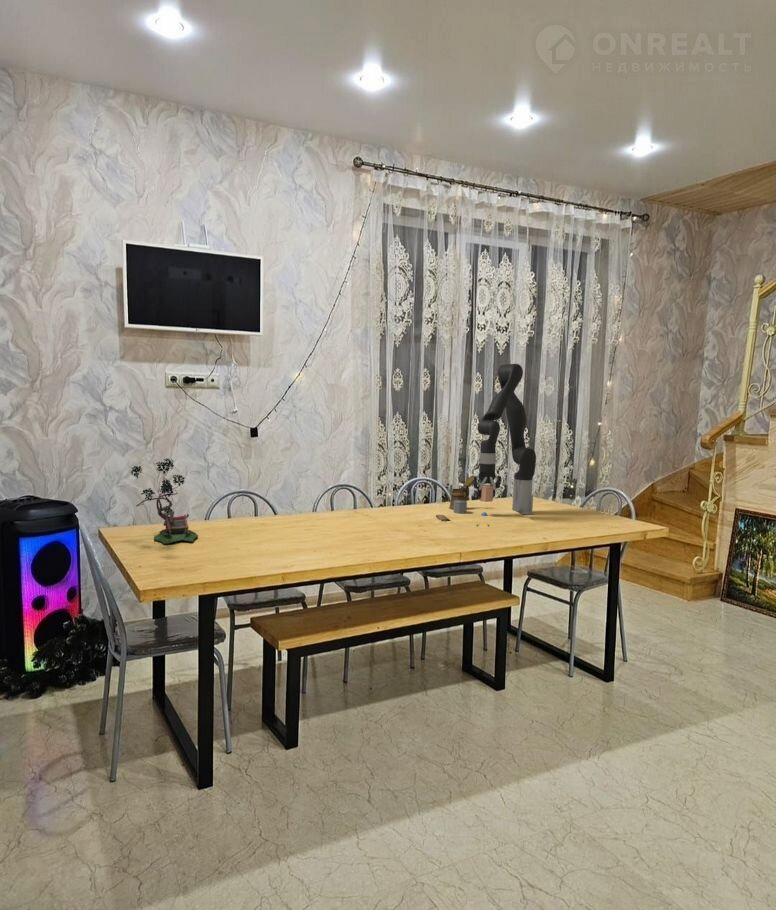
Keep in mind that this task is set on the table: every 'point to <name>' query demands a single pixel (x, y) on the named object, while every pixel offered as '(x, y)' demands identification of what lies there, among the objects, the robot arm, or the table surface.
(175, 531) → the bonsai tree
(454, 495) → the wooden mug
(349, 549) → the table surface
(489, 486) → the terracotta cup
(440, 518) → the walnut coaster
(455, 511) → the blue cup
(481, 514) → the blue marble
